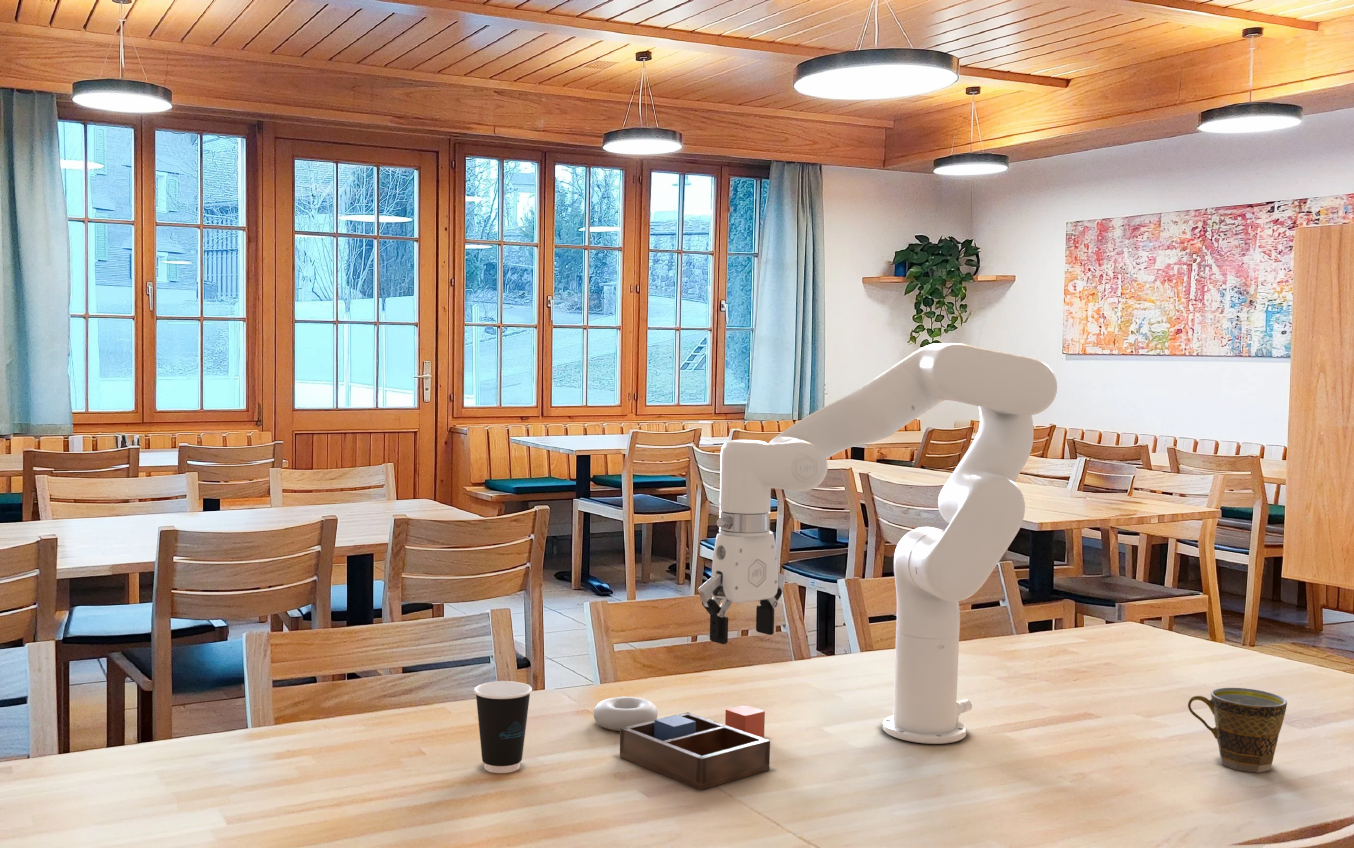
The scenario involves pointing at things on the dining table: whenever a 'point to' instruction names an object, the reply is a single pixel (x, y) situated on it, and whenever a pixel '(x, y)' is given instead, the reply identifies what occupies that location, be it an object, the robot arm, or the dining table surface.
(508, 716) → the dixie cup
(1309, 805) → the dining table surface
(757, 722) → the terracotta block
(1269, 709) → the ceramic cup
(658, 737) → the slate block
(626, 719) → the donut
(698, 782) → the sorting tray
